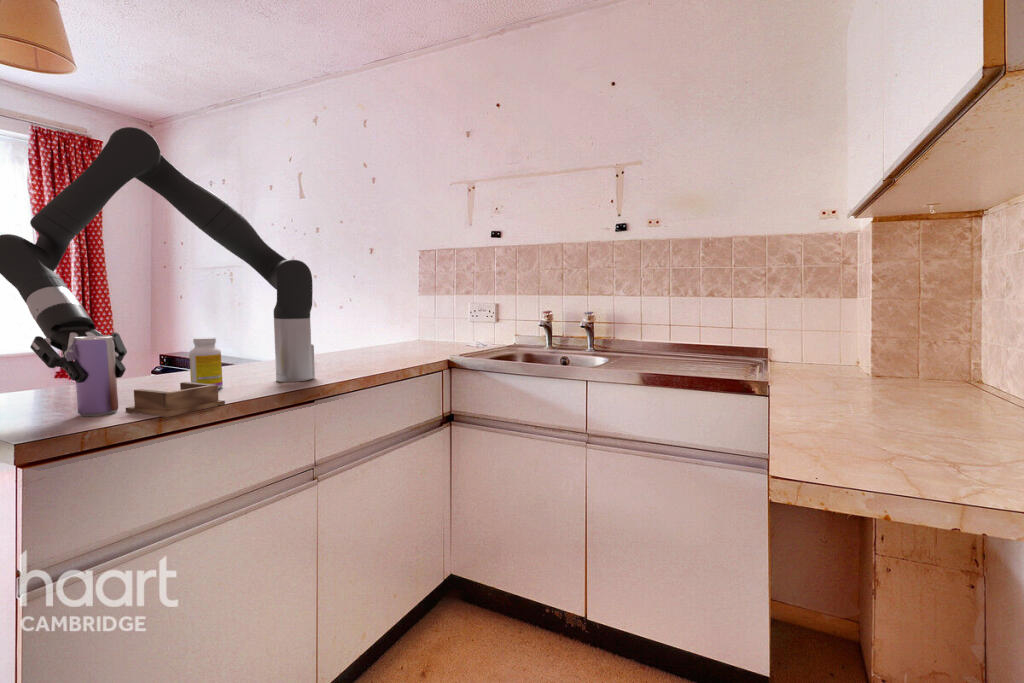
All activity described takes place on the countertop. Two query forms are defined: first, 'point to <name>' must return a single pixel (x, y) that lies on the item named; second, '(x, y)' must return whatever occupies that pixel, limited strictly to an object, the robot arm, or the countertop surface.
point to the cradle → (176, 400)
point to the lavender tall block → (96, 375)
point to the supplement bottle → (206, 362)
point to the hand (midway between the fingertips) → (102, 377)
